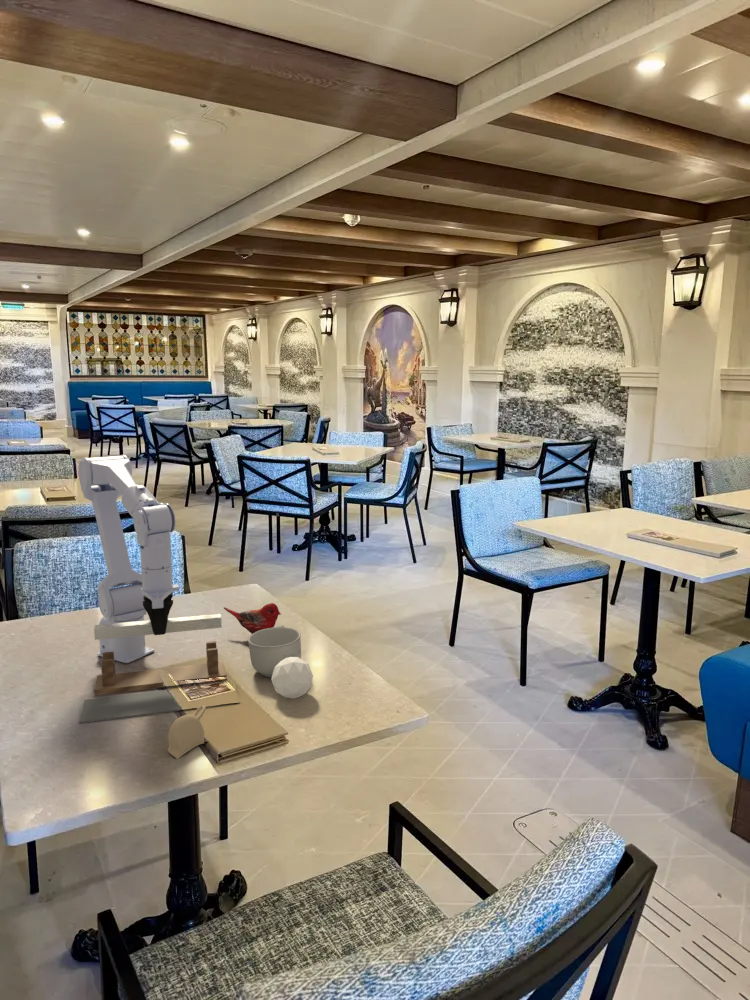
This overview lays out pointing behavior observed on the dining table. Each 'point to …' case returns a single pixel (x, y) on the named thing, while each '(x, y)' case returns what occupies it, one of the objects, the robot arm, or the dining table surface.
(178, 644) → the dining table surface
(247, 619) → the decorative bird figurine
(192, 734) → the decorative ornament
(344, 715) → the dining table surface
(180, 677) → the hook stands
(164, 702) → the mat
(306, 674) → the geometric ball
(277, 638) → the teacup
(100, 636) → the steel bar
